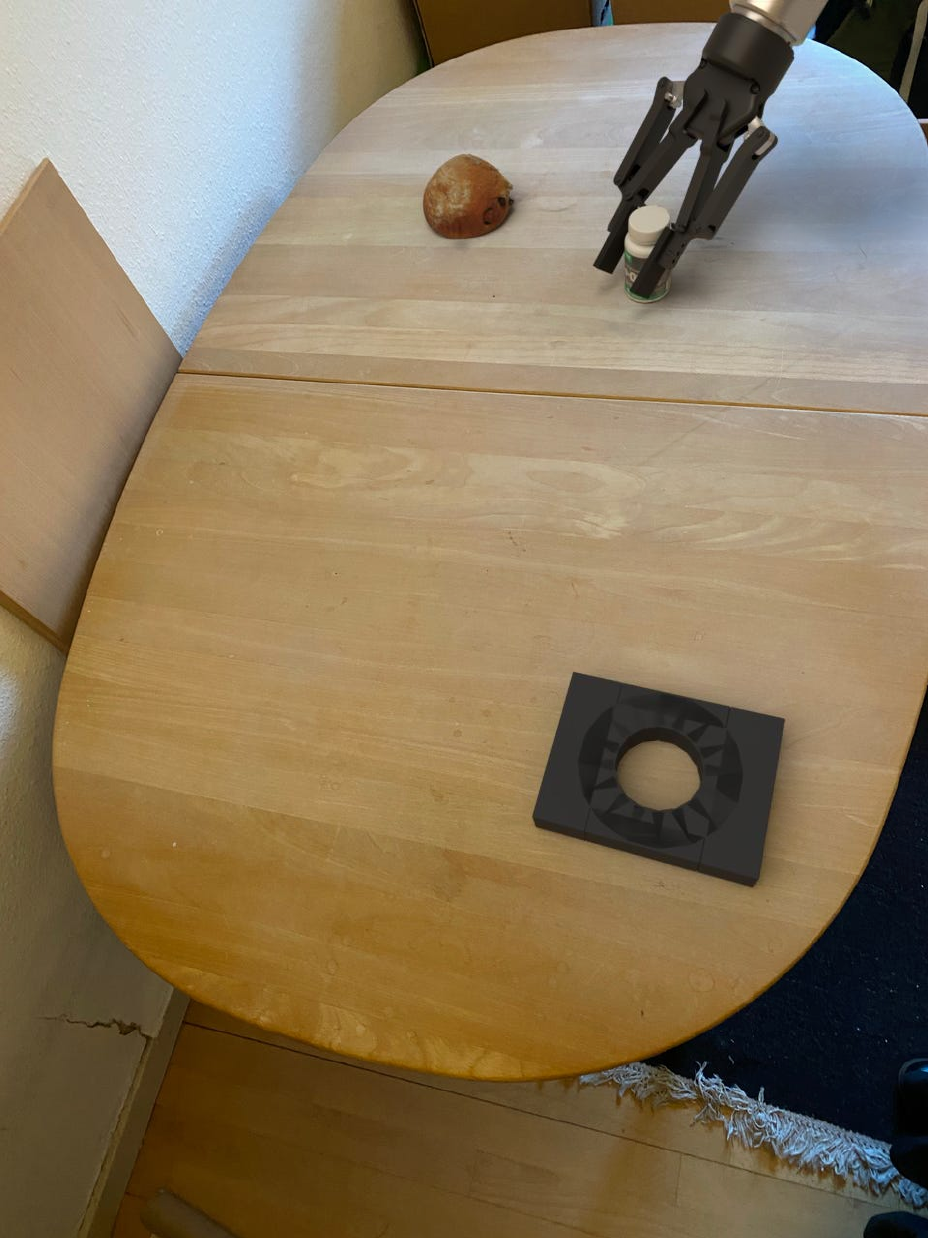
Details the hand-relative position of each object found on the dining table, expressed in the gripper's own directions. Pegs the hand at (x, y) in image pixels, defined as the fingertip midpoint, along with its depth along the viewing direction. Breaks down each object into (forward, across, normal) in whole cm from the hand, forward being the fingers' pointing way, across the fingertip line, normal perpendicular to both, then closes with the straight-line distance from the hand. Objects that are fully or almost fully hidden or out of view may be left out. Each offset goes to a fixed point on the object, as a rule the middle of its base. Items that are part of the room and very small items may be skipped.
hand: (620, 281), depth 85 cm
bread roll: (+3, +25, -2) cm, 25 cm away
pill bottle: (0, 0, -5) cm, 5 cm away
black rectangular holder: (+25, -40, +20) cm, 51 cm away
